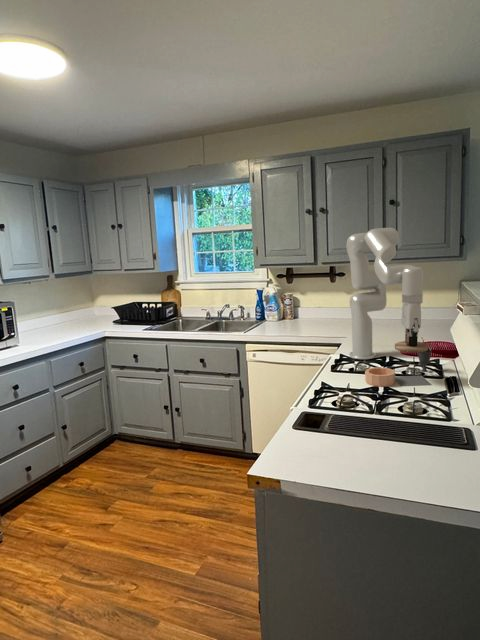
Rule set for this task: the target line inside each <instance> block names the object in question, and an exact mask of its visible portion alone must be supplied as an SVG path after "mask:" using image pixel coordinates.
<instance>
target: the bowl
mask: <svg viewBox="0 0 480 640" xmlns="http://www.w3.org/2000/svg"><path fill="white" fill-rule="evenodd" d="M364 377H365V379H364V381H365V383H366V384H367V385H369V386H371V387H380V388H382V387H383V388H384V387H390V386H393V385H394V384H395V383H396V380H395V377H396V371H395V370H394V369H392V368H389V367H380V366H379V367H377V366H376V367H370V368H367V369H366V370H365V371H364Z"/></svg>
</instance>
